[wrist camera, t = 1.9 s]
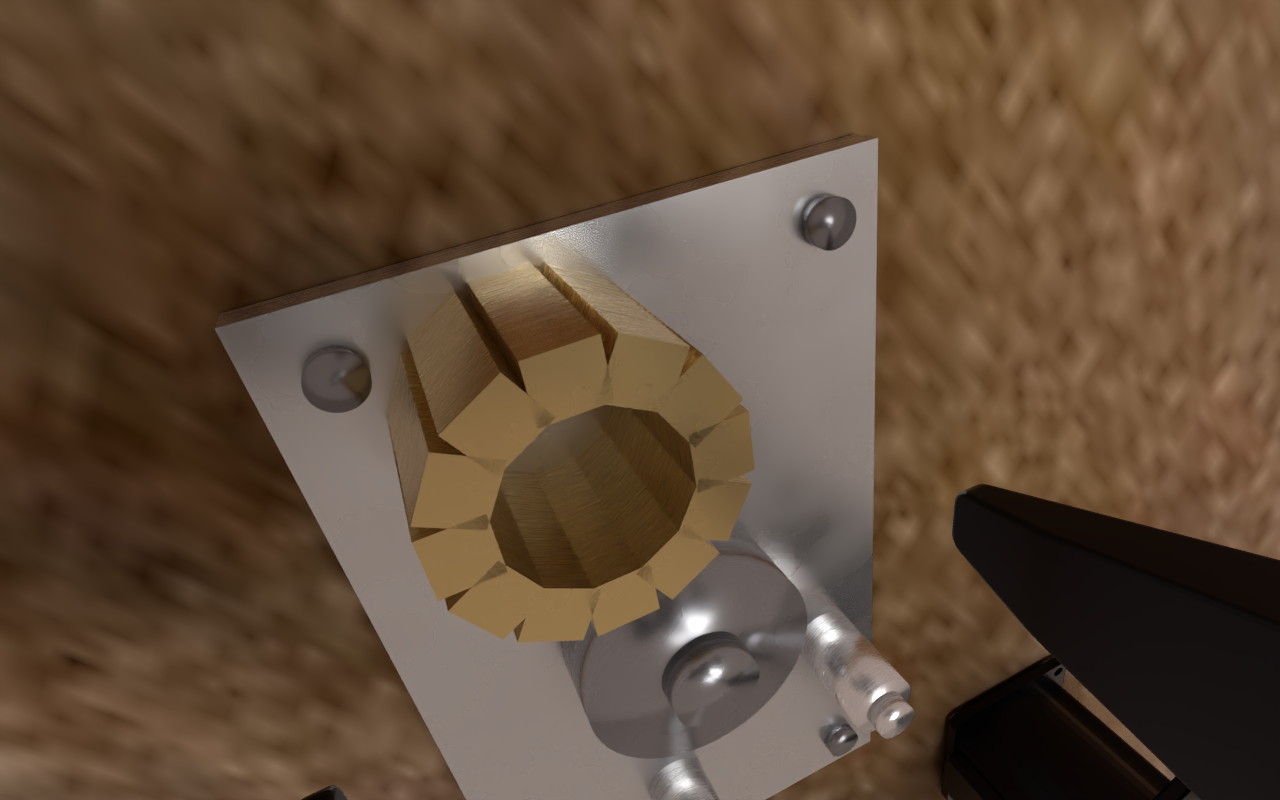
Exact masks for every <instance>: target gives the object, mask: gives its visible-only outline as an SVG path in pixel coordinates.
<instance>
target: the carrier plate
mask: <svg viewBox="0 0 1280 800" xmlns="http://www.w3.org/2000/svg"><path fill="white" fill-rule="evenodd" d="M877 183H878V138H877V137H871V136H865V135H859V134H853V135H849V136H846V137H842V138H839V139H835V140H832V141H828V142H824V143H821V144H817V145H814V146H810V147H807V148H803V149H800V150H796V151H793V152H789V153H786V154H782V155H778V156H775V157H771V158H768V159H764V160H761V161H757V162H754V163H750V164H747V165H743V166H740V167H736V168H733V169H729V170H725V171H722V172H718V173H715V174H711V175H708V176H704V177H701V178H697V179H694V180H690V181H687V182H683V183H680V184H676V185H672V186H669V187H665V188H662V189H658V190H655V191H651V192H648V193H644V194H641V195H637V196H634V197H630V198H627V199H623V200H619V201H616V202H612V203H609V204H605V205H602V206H598V207H595V208H591V209H588V210H584V211H581V212H577V213H574V214H570V215H566V216H563V217H559V218H556V219H552V220H549V221H545V222H542V223H538V224H535V225H531V226H528V227H524V228H521V229H517V230H513V231H510V232H506V233H503V234H499V235H496V236H492V237H489V238H485V239H482V240H478V241H475V242H471V243H468V244H464V245H460V246H457V247H453V248H450V249H446V250H443V251H439V252H436V253H432V254H429V255H425V256H422V257H418V258H415V259H411V260H407V261H404V262H400V263H397V264H393V265H390V266H386V267H383V268H379V269H376V270H372V271H369V272H365V273H361V274H358V275H354V276H351V277H347V278H344V279H340V280H337V281H333V282H330V283H326V284H323V285H319V286H316V287H312V288H308V289H305V290H301V291H298V292H294V293H291V294H287V295H284V296H280V297H277V298H273V299H270V300H266V301H263V302H259V303H255V304H252V305H248V306H245V307H241V308H238V309H234V310H231V311H227V312H224V313H220V314H219V316H218V319H217V322H216V325H215V328H214V329H215V331H216V333H217V334H218V336H219V338H220V340H221V342H222V344H223V346H224V348H225V349H226V351H227V353H228V355H229V357H230V359H231V361H232V363H233V364H234V366H235V368H236V370H237V372H238V374H239V376H240V378H241V379H242V381H243V383H244V385H245V387H246V389H247V391H248V392H249V394H250V396H251V398H252V400H253V402H254V404H255V406H256V407H257V409H258V411H259V413H260V415H261V417H262V419H263V421H264V422H265V424H266V426H267V428H268V430H269V432H270V434H271V435H272V437H273V439H274V441H275V443H276V445H277V447H278V449H279V450H280V452H281V454H282V456H283V458H284V460H285V462H286V464H287V465H288V467H289V469H290V471H291V473H292V475H293V477H294V478H295V480H296V482H297V484H298V486H299V488H300V490H301V492H302V493H303V495H304V497H305V499H306V501H307V503H308V505H309V507H310V508H311V510H312V512H313V514H314V516H315V518H316V520H317V521H318V523H319V525H320V527H321V529H322V531H323V533H324V535H325V536H326V538H327V540H328V542H329V544H330V546H331V548H332V550H333V551H334V553H335V555H336V557H337V559H338V561H339V563H340V564H341V566H342V568H343V570H344V572H345V574H346V576H347V578H348V579H349V581H350V583H351V585H352V587H353V589H354V591H355V593H356V594H357V596H358V598H359V600H360V602H361V604H362V606H363V607H364V609H365V611H366V613H367V615H368V617H369V619H370V621H371V622H372V624H373V626H374V628H375V630H376V632H377V634H378V636H379V637H380V639H381V641H382V643H383V645H384V647H385V649H386V650H387V652H388V654H389V656H390V658H391V660H392V662H393V664H394V665H395V667H396V669H397V671H398V673H399V675H400V677H401V679H402V680H403V682H404V684H405V686H406V688H407V690H408V692H409V693H410V695H411V697H412V699H413V701H414V703H415V705H416V707H417V708H418V710H419V712H420V714H421V716H422V718H423V720H424V722H425V723H426V725H427V727H428V729H429V731H430V733H431V735H432V736H433V738H434V740H435V742H436V744H437V746H438V748H439V750H440V751H441V753H442V755H443V757H444V759H445V761H446V763H447V765H448V766H449V768H450V770H451V772H452V774H453V776H454V778H455V779H456V781H457V783H458V785H459V787H460V789H461V791H462V793H463V794H464V796H465V798H466V800H766V799H767V798H769V797H771V796H773V795H775V794H776V793H778V792H780V791H782V790H784V789H785V788H787V787H789V786H791V785H792V784H794V783H796V782H798V781H800V780H801V779H803V778H805V777H807V776H809V775H810V774H812V773H814V772H816V771H817V770H819V769H821V768H823V767H825V766H826V765H828V764H830V763H832V762H834V761H835V760H837V759H839V758H841V757H843V756H844V755H846V754H848V753H850V752H851V751H853V750H855V749H857V748H859V747H860V746H862V745H864V744H866V743H868V742H869V741H870V731H874V730H877V731H878V732H879V734H880V735H881V736H882V737H883V738H892V737H894V736H896V735H898V734H900V733H901V732H902V731H903V730H905V729H906V728H907V727H908V725H909V724H910V723H911V721H912V719H913V717H914V710H913V709H912V708H911V706H910V705H909V704H908V703H907V702H908V700H909V697H910V693H911V689H910V686H909V684H908V683H907V682H906V681H905V680H904V679H903V678H902V676H901V675H900V674H899V673H898V672H897V671H896V670H895V669H894V668H893V667H892V666H891V665H890V664H889V662H888V661H887V660H886V659H885V658H884V657H883V656H882V655H881V654H880V653H879V652H878V651H877V650H876V648H875V647H874V646H873V645H872V571H873V493H874V416H875V338H876V261H877ZM546 263H547V264H551V265H555V266H559V267H564V268H568V269H572V270H576V271H580V272H584V273H588V274H592V275H596V276H600V277H604V278H606V279H607V280H608V281H609V282H611V283H612V284H613V285H615V284H616V285H617V286H619V287H620V288H621V289H622V290H624V291H625V292H626V293H627V294H629V295H630V296H631V297H632V298H634V299H635V300H636V301H637V302H639V303H640V304H641V305H642V306H644V307H645V308H646V309H647V310H649V311H650V312H651V313H652V314H654V315H655V316H656V317H657V318H659V319H660V320H661V321H662V322H664V323H665V324H666V325H667V326H669V327H670V328H671V329H672V330H674V331H675V332H676V333H677V334H679V335H680V336H681V337H682V338H683V339H685V340H686V341H687V342H688V343H690V344H691V345H692V346H693V347H695V348H696V349H697V350H698V351H700V352H701V353H702V354H703V355H704V356H705V357H706V358H707V359H708V360H709V361H710V362H711V363H712V365H713V366H714V367H715V368H716V369H717V370H718V371H719V372H720V373H721V375H722V376H723V377H724V378H725V379H726V380H727V381H728V382H729V383H730V384H731V386H732V387H733V388H734V389H735V390H736V391H737V392H738V393H739V394H740V396H741V397H742V398H743V399H744V400H743V401H742V402H741V403H740V404H741V405H742V406H743V407H744V408H746V409H747V410H748V411H749V416H750V427H751V437H752V447H753V457H754V467H755V470H753V471H751V472H748V473H746V474H744V475H745V476H746V477H747V478H748V479H749V480H750V481H751V482H752V485H751V488H750V490H749V492H748V495H747V497H746V500H745V502H744V504H743V507H742V509H741V511H740V514H739V516H738V518H737V521H736V523H735V525H734V528H733V530H732V533H731V535H730V537H729V540H728V541H720V540H710V541H711V543H712V544H713V545H714V547H715V548H716V549H717V550H718V552H719V554H718V555H717V556H716V557H715V558H714V559H713V560H712V561H711V562H710V563H709V564H708V565H707V566H706V567H705V568H704V569H703V570H702V571H701V572H700V573H699V574H698V575H697V576H696V577H695V578H694V579H693V580H692V581H691V582H690V583H689V584H688V585H687V586H686V587H685V588H684V589H683V590H682V591H681V592H680V593H679V594H678V595H677V596H676V597H675V598H674V599H673V600H672V599H671V598H669V597H668V596H666V595H665V594H664V593H662V592H661V591H659V590H658V589H656V593H657V598H658V602H659V607H660V609H657V610H655V611H653V612H651V613H649V614H647V615H644V616H642V617H640V618H638V619H636V620H633V621H631V622H629V623H627V624H625V625H622V626H620V627H618V628H616V629H614V630H611V631H609V632H607V633H605V634H603V635H600V636H598V635H597V633H596V631H595V629H594V627H593V625H592V623H591V621H590V623H589V626H588V629H587V632H586V634H585V637H584V640H575V641H548V642H521V643H518V642H517V639H516V637H515V634H514V631H512V632H511V633H510V634H509V635H508V636H507V637H506V638H505V639H504V640H503V639H501V638H499V637H497V636H495V635H493V634H491V633H489V632H487V631H485V630H483V629H481V628H479V627H477V626H476V625H474V624H472V623H470V622H468V621H466V620H464V619H462V618H460V617H458V616H456V615H454V614H452V613H450V612H448V610H447V605H446V601H445V598H444V599H442V600H440V601H438V600H437V598H436V596H435V594H434V591H433V589H432V587H431V585H430V583H429V580H428V578H427V576H426V574H425V572H424V569H423V567H422V565H421V563H420V560H419V558H418V556H417V554H416V552H415V549H414V547H413V545H412V543H411V538H410V533H409V528H408V523H407V518H406V513H405V508H404V503H403V498H402V493H401V488H400V483H399V478H398V473H397V468H396V463H395V458H394V453H393V448H392V443H391V437H390V432H389V427H388V425H389V420H388V415H387V409H388V404H389V400H390V395H391V391H392V386H393V382H394V377H395V373H396V368H397V364H398V359H399V354H400V352H404V353H410V354H412V352H411V349H410V346H409V343H408V340H407V339H408V338H409V337H410V336H411V335H412V333H413V332H414V331H415V330H416V329H417V328H418V327H419V326H420V325H421V324H422V323H423V322H424V321H425V320H426V319H427V318H428V317H429V316H430V315H431V314H432V313H433V312H434V311H435V310H436V309H437V308H438V307H439V306H440V305H441V304H442V303H443V302H444V301H445V300H446V299H447V297H448V296H449V295H450V294H451V293H452V292H453V291H455V292H456V293H457V294H458V295H460V296H461V297H462V298H463V299H464V300H465V301H466V302H468V303H469V304H470V305H471V306H472V307H473V308H474V309H475V305H474V302H473V299H472V296H471V293H470V289H469V286H468V282H471V281H475V280H478V279H481V278H485V277H488V276H491V275H495V274H498V273H502V272H505V271H508V270H512V269H515V268H518V267H522V266H525V265H528V264H532V265H533V266H534V267H535V268H536V269H537V270H538V271H539V272H540V273H541V274H542V275H543V272H544V268H545V265H546ZM611 409H612V405H603V406H600V407H597V408H594V409H592V410H589V411H586V412H583V413H581V414H578V415H575V416H572V417H570V418H567V419H564V420H561V421H559V422H556V423H553V424H550V425H548V426H547V427H546V428H545V429H544V430H543V431H542V432H541V433H540V434H539V435H538V436H537V437H536V438H535V439H534V440H533V441H532V442H531V443H530V444H529V445H528V446H527V447H526V448H525V449H524V450H523V451H522V452H521V453H520V454H519V455H518V456H517V457H516V458H515V459H514V460H513V461H512V462H511V463H510V464H509V465H508V466H507V467H506V468H505V470H504V473H513V474H524V475H538V474H541V473H543V472H546V471H549V470H551V469H554V468H557V467H559V466H562V465H564V464H567V463H570V462H572V461H575V460H576V459H577V458H578V457H579V456H580V455H581V454H582V453H583V452H584V451H585V450H586V449H587V448H588V447H589V446H590V445H591V444H592V443H593V442H594V441H595V440H596V439H597V438H598V437H599V436H600V435H601V434H602V433H603V432H604V430H605V427H606V424H607V421H608V418H609V415H610V412H611Z"/></svg>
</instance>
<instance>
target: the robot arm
mask: <svg viewBox="0 0 1280 800" xmlns="http://www.w3.org/2000/svg"><path fill="white" fill-rule="evenodd" d="M952 536H953V540H954V543H955V545H956V547H957V548H958V550H959V551H960V552H961V554H962V555H963V556H964V557H965V558H966V559H967V561H968V562H969V563H970V564H971V565H972V566H973V568H974V569H975V570H976V571H977V572H978V574H979V575H980V576H981V577H982V578H983V579H984V581H985V582H986V583H987V584H988V585H989V586H990V588H991V589H992V590H993V591H994V592H995V593H996V595H997V596H998V597H999V598H1000V599H1001V601H1002V602H1003V603H1004V604H1005V605H1006V606H1007V608H1008V609H1009V610H1010V611H1011V612H1012V613H1013V615H1014V616H1015V617H1016V618H1017V619H1018V620H1019V621H1020V623H1021V624H1022V625H1023V626H1024V627H1025V628H1026V629H1027V630H1028V631H1029V632H1030V633H1031V634H1032V636H1033V637H1034V638H1035V639H1036V640H1037V641H1038V642H1039V643H1040V644H1041V645H1042V646H1043V647H1044V648H1045V649H1046V650H1047V651H1048V652H1049V653H1051V654H1052V655H1053V656H1054V657H1055V658H1052V659H1051V660H1049V661H1047V662H1045V663H1044V664H1042V665H1040V666H1038V667H1036V668H1035V669H1033V670H1031V671H1029V672H1028V673H1026V674H1024V675H1022V676H1021V677H1019V678H1017V679H1015V680H1014V681H1012V682H1010V683H1008V684H1007V685H1005V686H1003V687H1001V688H1000V689H998V690H996V691H994V692H992V693H991V694H989V695H987V696H985V697H984V698H982V699H980V700H978V701H977V702H975V703H973V704H971V705H970V706H968V707H966V708H964V709H963V710H961V711H959V712H958V713H956V714H955V715H954V716H953V717H952V718H951V720H950V721H949V726H948V735H947V744H946V754H945V763H944V772H943V781H942V790H941V793H942V795H943V796H944V797H945V798H946V800H1280V560H1277V559H1273V558H1269V557H1265V556H1262V555H1258V554H1254V553H1250V552H1246V551H1242V550H1238V549H1235V548H1231V547H1227V546H1223V545H1219V544H1215V543H1211V542H1207V541H1204V540H1200V539H1196V538H1192V537H1188V536H1184V535H1180V534H1177V533H1173V532H1169V531H1165V530H1161V529H1157V528H1153V527H1149V526H1146V525H1142V524H1138V523H1134V522H1130V521H1126V520H1122V519H1119V518H1115V517H1111V516H1107V515H1103V514H1099V513H1095V512H1091V511H1088V510H1084V509H1080V508H1076V507H1072V506H1068V505H1064V504H1061V503H1057V502H1053V501H1049V500H1045V499H1041V498H1037V497H1033V496H1030V495H1026V494H1022V493H1018V492H1014V491H1010V490H1006V489H1003V488H999V487H995V486H991V485H986V484H979V485H976V486H973V487H971V488H969V489H967V490H965V491H963V492H961V493H959V494H958V495H957V497H956V499H955V506H954V517H953V529H952ZM1066 669H1067V670H1068V671H1069V672H1070V673H1071V674H1072V675H1073V676H1074V677H1075V678H1076V679H1077V680H1078V681H1079V682H1080V683H1081V684H1082V685H1083V686H1084V687H1085V688H1086V689H1087V690H1088V691H1089V692H1090V693H1092V694H1093V695H1094V696H1095V697H1096V698H1097V699H1098V700H1099V701H1100V702H1101V703H1102V704H1103V705H1104V706H1105V707H1106V708H1107V709H1108V710H1109V711H1110V712H1111V713H1112V714H1113V715H1114V716H1115V717H1116V718H1117V719H1118V720H1119V721H1120V722H1121V723H1122V724H1123V725H1124V726H1125V727H1126V728H1127V729H1128V730H1129V731H1130V732H1131V733H1133V734H1134V735H1135V736H1136V737H1137V738H1138V739H1139V740H1140V741H1141V742H1142V743H1143V744H1144V745H1145V746H1146V747H1147V748H1148V749H1149V750H1150V751H1151V752H1152V753H1153V754H1154V755H1155V756H1156V757H1157V758H1158V759H1159V760H1160V761H1161V762H1162V763H1163V764H1164V765H1165V766H1166V767H1167V768H1168V769H1169V770H1170V771H1171V772H1172V773H1174V775H1175V776H1176V777H1175V778H1174V779H1173V780H1172V781H1171V780H1169V779H1168V778H1167V777H1166V776H1165V775H1164V774H1162V773H1161V772H1160V771H1159V770H1158V769H1157V768H1155V767H1154V766H1153V765H1152V764H1151V763H1150V762H1149V761H1147V760H1146V759H1145V758H1144V757H1143V756H1142V755H1140V754H1139V753H1138V752H1137V751H1136V750H1135V749H1133V748H1132V747H1131V746H1130V745H1129V744H1128V743H1126V742H1125V741H1124V740H1123V739H1122V738H1121V737H1119V736H1118V735H1117V734H1116V733H1115V732H1114V731H1113V730H1111V729H1110V728H1109V727H1108V726H1107V725H1106V724H1104V723H1103V722H1102V721H1101V720H1100V719H1099V718H1097V717H1096V716H1095V715H1094V714H1093V713H1092V712H1090V711H1089V710H1088V709H1087V708H1086V707H1085V706H1084V705H1082V704H1081V703H1080V702H1079V701H1078V700H1077V699H1075V698H1074V697H1073V696H1072V695H1071V694H1070V693H1068V692H1067V691H1066V690H1065V689H1064V688H1063V687H1062V684H1063V680H1064V675H1065V671H1066ZM302 800H348V799H347V798H346V796H345V795H344V793H343V792H342V790H341V789H340V788H339V787H337V786H334V785H332V786H328V787H326V788H324V789H322V790H320V791H317V792H315V793H313V794H311V795H309V796H307V797H305V798H303V799H302Z"/></svg>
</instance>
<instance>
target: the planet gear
mask: <svg viewBox="0 0 1280 800" xmlns="http://www.w3.org/2000/svg"><path fill="white" fill-rule="evenodd" d="M468 286H469V289H470V293H471V296H472V299H473V302H474V305H475V309H474V308H473V307H472V306H471V305H470V304H469V303H468V302H466V301H465V300H464V299H463V298H462V297H461V296H460V295H458V294H457V293H456V292H455V291H453V292H452V293H451V294H450V295H449V296H448V297H447V299H446V300H445V301H444V302H443V303H442V304H441V305H440V306H439V307H438V308H437V309H436V310H435V311H434V312H433V313H432V314H431V315H430V316H429V317H428V318H427V319H426V320H425V321H424V322H423V323H422V324H421V325H420V326H419V327H418V328H417V329H416V330H415V331H414V332H413V333H412V335H411V336H410V337H409V338H408V339H407V340H408V343H409V346H410V349H411V352H412V354H410V353H404V352H400V354H399V359H398V364H397V368H396V373H395V377H394V382H393V386H392V391H391V395H390V400H389V404H388V409H387V415H388V420H389V425H388V427H389V432H390V437H391V443H392V448H393V453H394V458H395V463H396V468H397V473H398V478H399V483H400V488H401V493H402V498H403V503H404V508H405V513H406V518H407V523H408V528H409V533H410V538H411V543H412V545H413V547H414V549H415V552H416V554H417V556H418V558H419V560H420V563H421V565H422V567H423V569H424V572H425V574H426V576H427V578H428V580H429V583H430V585H431V587H432V589H433V591H434V594H435V596H436V598H437V600H438V601H440V600H442V599H444V598H445V601H446V605H447V610H448V612H450V613H452V614H454V615H456V616H458V617H460V618H462V619H464V620H466V621H468V622H470V623H472V624H474V625H476V626H477V627H479V628H481V629H483V630H485V631H487V632H489V633H491V634H493V635H495V636H497V637H499V638H501V639H503V640H504V639H505V638H506V637H507V636H508V635H509V634H510V633H511V632H512V631H514V634H515V637H516V639H517V642H518V643H521V642H548V641H575V640H584V637H585V634H586V632H587V629H588V626H589V623H590V621H591V623H592V625H593V627H594V629H595V631H596V633H597V635H598V636H600V635H603V634H605V633H607V632H609V631H611V630H614V629H616V628H618V627H620V626H622V625H625V624H627V623H629V622H631V621H633V620H636V619H638V618H640V617H642V616H644V615H647V614H649V613H651V612H653V611H655V610H657V609H660V607H659V602H658V598H657V593H656V589H658V590H659V591H661V592H662V593H664V594H665V595H666V596H668V597H669V598H671V599H672V600H673V599H674V598H675V597H676V596H677V595H678V594H679V593H680V592H681V591H682V590H683V589H684V588H685V587H686V586H687V585H688V584H689V583H690V582H691V581H692V580H693V579H694V578H695V577H696V576H697V575H698V574H699V573H700V572H701V571H702V570H703V569H704V568H705V567H706V566H707V565H708V564H709V563H710V562H711V561H712V560H713V559H714V558H715V557H716V556H717V555H718V554H719V552H718V550H717V549H716V548H715V547H714V545H713V544H712V543H711V541H710V540H720V541H728V540H729V537H730V535H731V533H732V530H733V528H734V525H735V523H736V521H737V518H738V516H739V514H740V511H741V509H742V507H743V504H744V502H745V500H746V497H747V495H748V492H749V490H750V488H751V485H752V482H751V481H750V480H749V479H748V478H747V477H746V476H745V475H744V474H746V473H748V472H751V471H753V470H755V467H754V457H753V447H752V437H751V427H750V416H749V411H748V410H747V409H746V408H744V407H743V406H742V405H741V404H740V403H741V402H742V401H743V400H744V399H743V398H742V397H741V396H740V394H739V393H738V392H737V391H736V390H735V389H734V388H733V387H732V386H731V384H730V383H729V382H728V381H727V380H726V379H725V378H724V377H723V376H722V375H721V373H720V372H719V371H718V370H717V369H716V368H715V367H714V366H713V365H712V363H711V362H710V361H709V360H708V359H707V358H706V357H705V356H704V355H703V354H702V353H701V352H700V351H698V350H697V349H696V348H695V347H693V346H692V345H691V344H690V343H688V342H687V341H686V340H685V339H683V338H682V337H681V336H680V335H679V334H677V333H676V332H675V331H674V330H672V329H671V328H670V327H669V326H667V325H666V324H665V323H664V322H662V321H661V320H660V319H659V318H657V317H656V316H655V315H654V314H652V313H651V312H650V311H649V310H647V309H646V308H645V307H644V306H642V305H641V304H640V303H639V302H637V301H636V300H635V299H634V298H632V297H631V296H630V295H629V294H627V293H626V292H625V291H624V290H622V289H621V288H620V287H619V286H617V285H616V284H615V285H613V284H612V283H611V282H609V281H608V280H607V279H606V278H604V277H600V276H596V275H592V274H588V273H584V272H580V271H576V270H572V269H568V268H564V267H559V266H555V265H551V264H547V263H546V265H545V268H544V272H543V275H542V274H541V273H540V272H539V271H538V270H537V269H536V268H535V267H534V266H533V265H532V264H528V265H525V266H522V267H518V268H515V269H512V270H508V271H505V272H502V273H498V274H495V275H491V276H488V277H485V278H481V279H478V280H475V281H471V282H468ZM603 405H612V409H611V412H610V415H609V418H608V421H607V424H606V427H605V430H604V432H603V433H602V434H601V435H600V436H599V437H598V438H597V439H596V440H595V441H594V442H593V443H592V444H591V445H590V446H589V447H588V448H587V449H586V450H585V451H584V452H583V453H582V454H581V455H580V456H579V457H578V458H577V459H576V460H575V461H572V462H570V463H567V464H564V465H562V466H559V467H557V468H554V469H551V470H549V471H546V472H543V473H541V474H538V475H524V474H513V473H504V470H505V468H506V467H507V466H508V465H509V464H510V463H511V462H512V461H513V460H514V459H515V458H516V457H517V456H518V455H519V454H520V453H521V452H522V451H523V450H524V449H525V448H526V447H527V446H528V445H529V444H530V443H531V442H532V441H533V440H534V439H535V438H536V437H537V436H538V435H539V434H540V433H541V432H542V431H543V430H544V429H545V428H546V427H547V426H548V425H550V424H553V423H556V422H559V421H561V420H564V419H567V418H570V417H572V416H575V415H578V414H581V413H583V412H586V411H589V410H592V409H594V408H597V407H600V406H603Z"/></svg>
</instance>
